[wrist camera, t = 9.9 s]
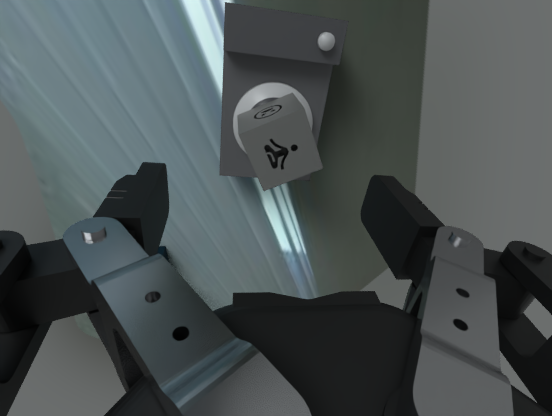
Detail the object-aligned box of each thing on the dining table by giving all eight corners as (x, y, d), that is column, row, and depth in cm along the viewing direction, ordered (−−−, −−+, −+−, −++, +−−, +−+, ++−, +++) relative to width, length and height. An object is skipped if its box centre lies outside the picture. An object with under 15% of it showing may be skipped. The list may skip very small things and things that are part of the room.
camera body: (226, 4, 27) (224, 2, 21) (325, 19, 28) (351, 21, 22) (221, 155, 34) (218, 186, 28) (300, 161, 36) (314, 191, 30)
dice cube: (237, 115, 26) (238, 134, 22) (292, 92, 26) (304, 107, 22) (259, 165, 29) (263, 191, 25) (309, 145, 28) (323, 168, 24)
